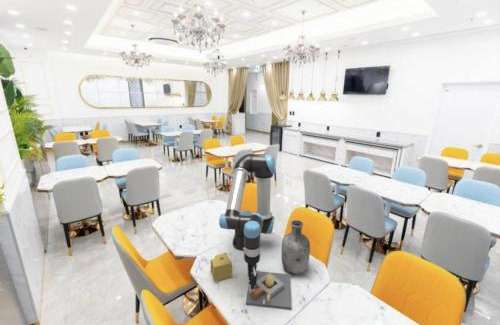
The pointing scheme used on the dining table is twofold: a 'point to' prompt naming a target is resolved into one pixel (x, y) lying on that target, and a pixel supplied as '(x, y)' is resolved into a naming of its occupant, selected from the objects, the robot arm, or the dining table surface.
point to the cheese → (221, 267)
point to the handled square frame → (264, 290)
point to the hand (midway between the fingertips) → (251, 292)
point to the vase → (295, 249)
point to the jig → (278, 300)
